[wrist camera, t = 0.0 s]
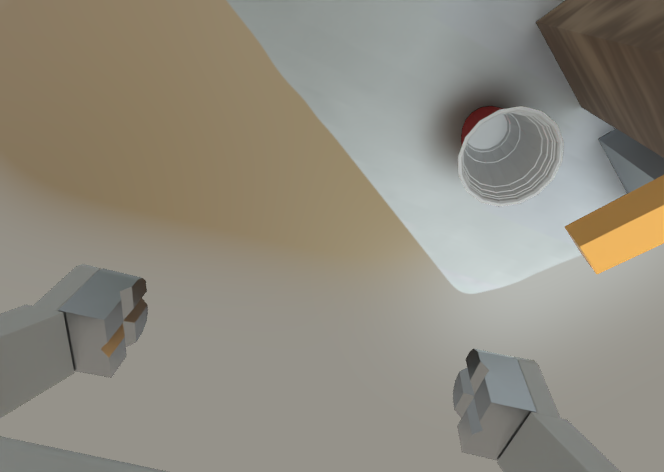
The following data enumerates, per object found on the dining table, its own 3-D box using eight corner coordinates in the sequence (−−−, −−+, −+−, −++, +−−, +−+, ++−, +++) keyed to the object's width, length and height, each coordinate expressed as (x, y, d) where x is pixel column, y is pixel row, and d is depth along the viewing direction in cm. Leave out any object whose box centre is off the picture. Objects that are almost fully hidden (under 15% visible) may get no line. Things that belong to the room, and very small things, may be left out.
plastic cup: (548, 130, 54) (587, 164, 44) (475, 182, 58) (495, 225, 48) (500, 63, 51) (529, 83, 40) (426, 124, 55) (436, 156, 45)
